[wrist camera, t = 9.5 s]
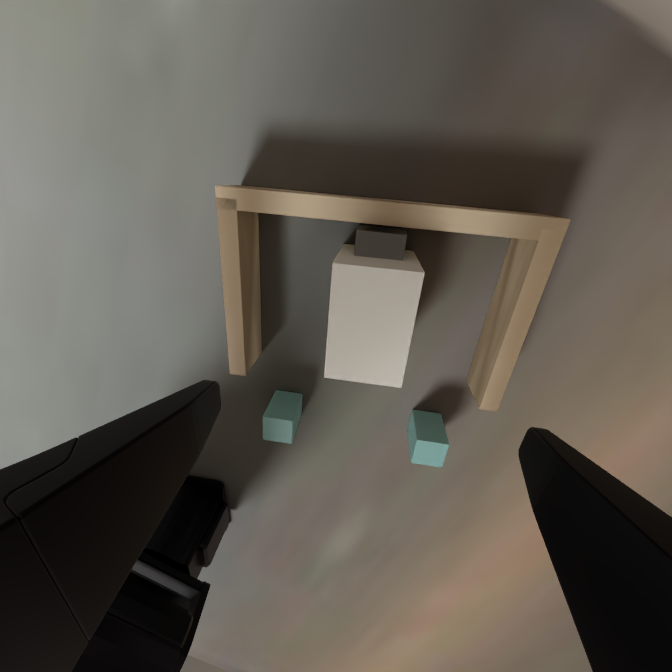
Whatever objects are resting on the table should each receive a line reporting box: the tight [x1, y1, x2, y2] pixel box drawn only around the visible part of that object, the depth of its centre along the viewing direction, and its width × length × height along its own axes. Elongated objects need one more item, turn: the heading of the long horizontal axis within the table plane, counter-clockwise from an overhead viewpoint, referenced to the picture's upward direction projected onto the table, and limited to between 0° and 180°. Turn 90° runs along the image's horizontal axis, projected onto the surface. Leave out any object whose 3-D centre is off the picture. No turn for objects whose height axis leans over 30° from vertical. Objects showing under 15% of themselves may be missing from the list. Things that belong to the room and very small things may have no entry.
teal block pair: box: [263, 390, 449, 467], centre depth 22 cm, size 12×2×3 cm, turn 85°
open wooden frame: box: [215, 185, 571, 411], centre depth 18 cm, size 16×10×3 cm, turn 85°
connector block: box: [324, 225, 425, 388], centre depth 17 cm, size 4×7×5 cm, turn 176°
